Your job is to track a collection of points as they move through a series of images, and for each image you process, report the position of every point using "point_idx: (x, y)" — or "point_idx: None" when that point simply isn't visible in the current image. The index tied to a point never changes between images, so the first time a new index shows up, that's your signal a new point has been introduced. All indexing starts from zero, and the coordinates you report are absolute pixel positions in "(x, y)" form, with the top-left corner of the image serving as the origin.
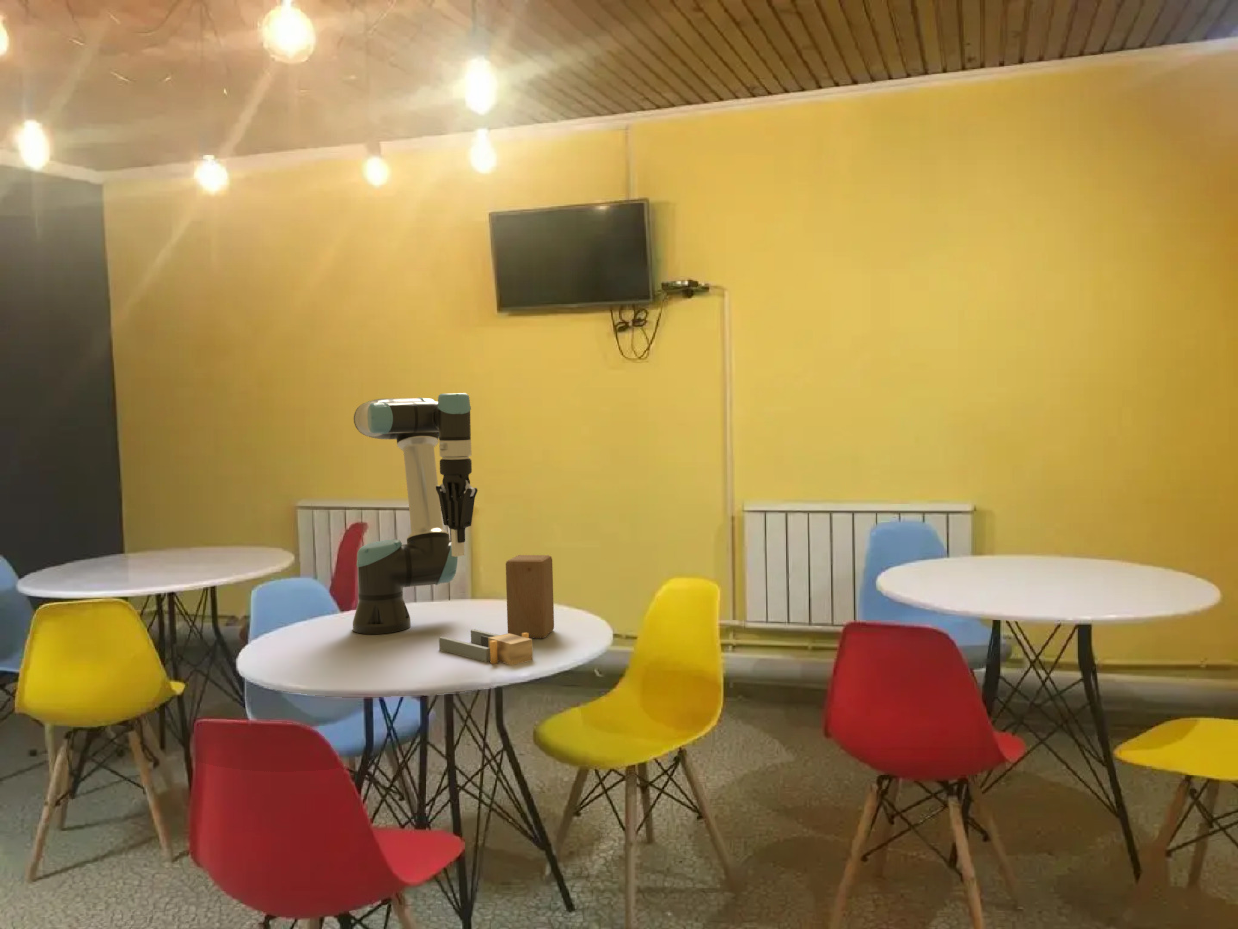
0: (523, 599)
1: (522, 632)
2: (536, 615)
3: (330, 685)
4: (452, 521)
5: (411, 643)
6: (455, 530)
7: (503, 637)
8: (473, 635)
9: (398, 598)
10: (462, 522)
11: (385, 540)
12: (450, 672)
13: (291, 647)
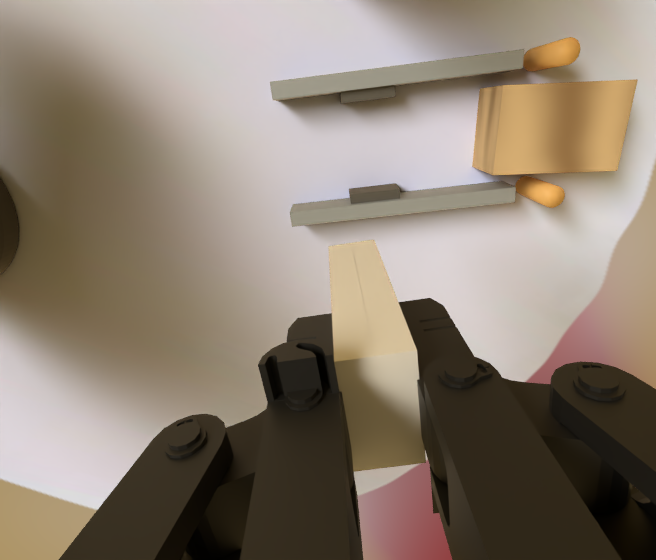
0: None
1: None
2: None
3: (384, 479)
4: (361, 545)
5: (173, 235)
6: (423, 450)
7: (532, 136)
8: (288, 98)
9: None
10: (627, 535)
11: None
12: (498, 301)
13: (41, 433)
